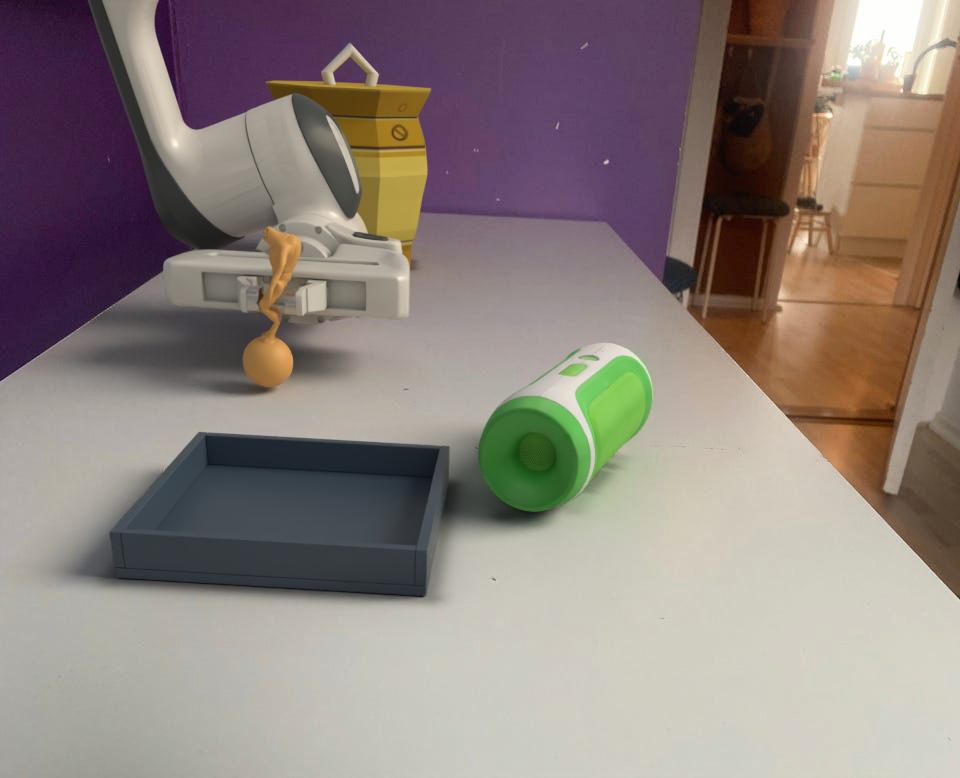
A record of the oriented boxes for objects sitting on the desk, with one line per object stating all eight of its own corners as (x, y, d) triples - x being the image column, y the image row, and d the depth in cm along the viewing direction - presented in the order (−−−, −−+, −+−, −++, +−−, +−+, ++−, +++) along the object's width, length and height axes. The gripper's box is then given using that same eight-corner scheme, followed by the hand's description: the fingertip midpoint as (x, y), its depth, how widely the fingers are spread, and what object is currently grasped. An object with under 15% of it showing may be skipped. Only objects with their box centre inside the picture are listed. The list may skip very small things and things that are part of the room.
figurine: (253, 375, 88) (226, 224, 82) (324, 368, 88) (302, 217, 82) (241, 402, 80) (209, 238, 75) (318, 395, 80) (293, 231, 75)
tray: (115, 578, 54) (108, 532, 52) (202, 469, 68) (198, 431, 67) (426, 596, 53) (427, 550, 52) (448, 484, 68) (449, 445, 66)
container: (253, 251, 140) (240, 37, 127) (399, 247, 148) (400, 45, 136) (297, 281, 123) (288, 39, 111) (459, 275, 132) (467, 48, 119)
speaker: (558, 430, 78) (567, 329, 75) (652, 446, 76) (666, 343, 72) (467, 509, 64) (472, 389, 60) (580, 531, 62) (592, 408, 58)
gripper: (186, 226, 91) (132, 252, 79) (419, 240, 90) (401, 268, 78) (192, 300, 94) (142, 336, 82) (417, 314, 93) (400, 352, 81)
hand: (271, 303), depth 80 cm, fingers closed on figurine, 2 cm apart
